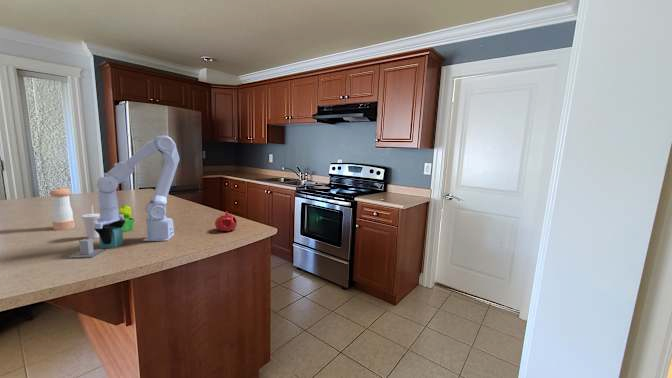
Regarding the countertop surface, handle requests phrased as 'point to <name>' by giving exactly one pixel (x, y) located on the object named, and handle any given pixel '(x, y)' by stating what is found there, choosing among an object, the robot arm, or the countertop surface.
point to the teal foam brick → (113, 238)
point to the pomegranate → (226, 222)
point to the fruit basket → (126, 218)
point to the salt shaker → (62, 209)
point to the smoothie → (91, 223)
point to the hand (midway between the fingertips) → (111, 241)
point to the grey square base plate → (87, 249)
